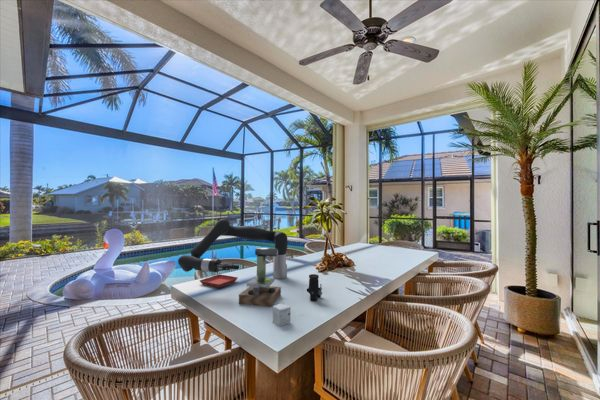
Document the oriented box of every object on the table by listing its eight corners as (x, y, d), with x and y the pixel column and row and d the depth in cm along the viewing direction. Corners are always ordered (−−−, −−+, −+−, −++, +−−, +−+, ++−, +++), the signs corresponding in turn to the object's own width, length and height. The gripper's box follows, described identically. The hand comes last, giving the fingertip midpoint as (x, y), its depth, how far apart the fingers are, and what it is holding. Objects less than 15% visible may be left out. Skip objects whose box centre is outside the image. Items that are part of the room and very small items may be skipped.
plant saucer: (198, 285, 173) (198, 280, 173) (219, 278, 189) (219, 273, 189) (218, 289, 164) (219, 284, 164) (238, 282, 180) (238, 277, 180)
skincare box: (279, 326, 115) (279, 309, 115) (272, 321, 120) (272, 305, 120) (290, 323, 119) (291, 306, 119) (283, 318, 124) (283, 302, 124)
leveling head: (246, 289, 142) (246, 249, 142) (255, 282, 155) (256, 245, 155) (272, 291, 139) (273, 250, 139) (279, 284, 152) (280, 246, 152)
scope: (322, 273, 153) (320, 277, 143) (322, 297, 152) (320, 303, 143) (308, 272, 154) (305, 276, 144) (308, 295, 154) (305, 302, 144)
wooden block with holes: (238, 304, 140) (239, 287, 140) (251, 292, 158) (252, 277, 158) (270, 307, 137) (271, 289, 137) (280, 295, 154) (280, 280, 154)
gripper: (205, 261, 147) (233, 263, 144) (217, 256, 160) (243, 258, 157) (204, 274, 147) (233, 276, 144) (216, 268, 160) (243, 271, 157)
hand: (238, 267), depth 150 cm, fingers closed
